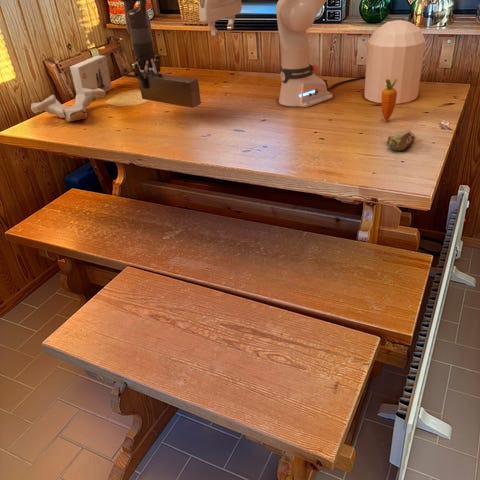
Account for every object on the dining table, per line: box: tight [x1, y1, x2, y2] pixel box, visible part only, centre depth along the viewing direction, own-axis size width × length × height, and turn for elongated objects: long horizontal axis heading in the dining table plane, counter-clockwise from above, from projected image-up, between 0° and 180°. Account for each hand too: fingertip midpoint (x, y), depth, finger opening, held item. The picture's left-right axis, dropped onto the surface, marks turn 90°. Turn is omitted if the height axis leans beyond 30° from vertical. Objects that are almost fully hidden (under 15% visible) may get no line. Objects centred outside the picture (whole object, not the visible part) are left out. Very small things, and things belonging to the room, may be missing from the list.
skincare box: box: [69, 54, 113, 95], centre depth 218 cm, size 21×6×16 cm, turn 158°
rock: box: [387, 129, 416, 152], centre depth 146 cm, size 11×6×10 cm
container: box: [363, 19, 426, 105], centre depth 179 cm, size 21×21×28 cm
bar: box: [137, 72, 202, 109], centre depth 176 cm, size 27×5×9 cm, turn 54°
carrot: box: [380, 79, 397, 122], centre depth 161 cm, size 5×5×15 cm
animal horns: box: [30, 88, 107, 123], centre depth 195 cm, size 28×26×12 cm
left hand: (150, 86), depth 181 cm, fingers closed on bar, 4 cm apart
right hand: (222, 32), depth 165 cm, fingers open, 8 cm apart
